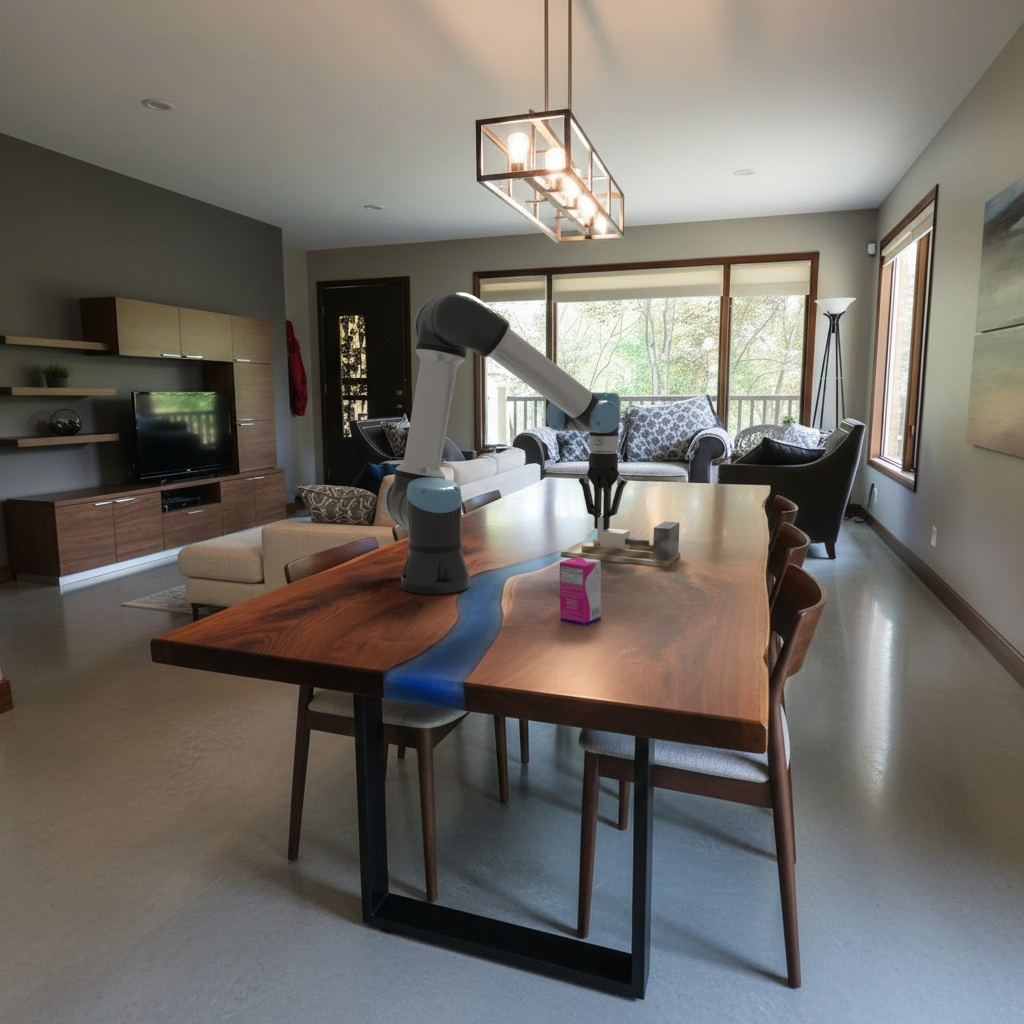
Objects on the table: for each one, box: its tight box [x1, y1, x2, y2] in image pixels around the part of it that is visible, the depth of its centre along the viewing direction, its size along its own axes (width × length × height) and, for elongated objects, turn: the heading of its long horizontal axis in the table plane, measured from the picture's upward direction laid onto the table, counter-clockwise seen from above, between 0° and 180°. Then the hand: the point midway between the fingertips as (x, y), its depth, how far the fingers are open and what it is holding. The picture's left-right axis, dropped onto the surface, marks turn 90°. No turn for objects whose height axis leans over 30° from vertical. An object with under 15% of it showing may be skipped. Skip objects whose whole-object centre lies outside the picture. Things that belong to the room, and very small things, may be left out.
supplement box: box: [559, 557, 602, 627], centre depth 142 cm, size 6×6×12 cm
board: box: [560, 521, 681, 568], centre depth 197 cm, size 28×14×9 cm, turn 64°
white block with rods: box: [600, 527, 650, 549], centre depth 198 cm, size 12×10×5 cm
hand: (601, 541), depth 199 cm, fingers closed
